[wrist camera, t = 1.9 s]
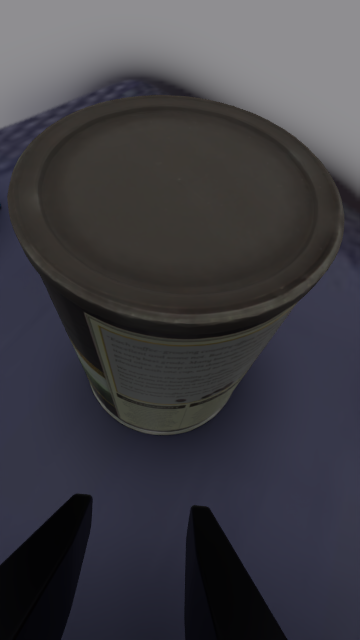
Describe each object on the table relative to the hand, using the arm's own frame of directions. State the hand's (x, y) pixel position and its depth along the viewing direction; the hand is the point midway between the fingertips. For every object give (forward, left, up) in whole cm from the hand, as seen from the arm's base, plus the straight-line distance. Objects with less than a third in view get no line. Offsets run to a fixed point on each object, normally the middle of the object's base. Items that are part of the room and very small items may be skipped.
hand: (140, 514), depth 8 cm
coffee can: (+9, -1, -12) cm, 15 cm away
